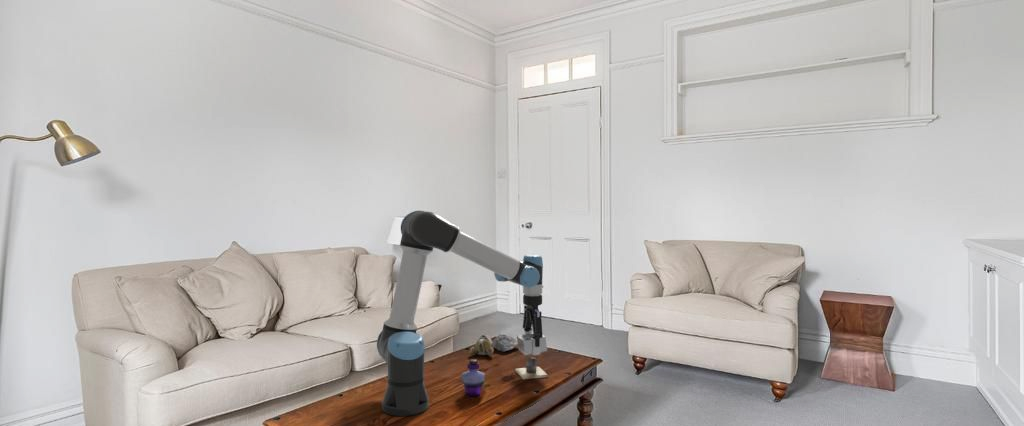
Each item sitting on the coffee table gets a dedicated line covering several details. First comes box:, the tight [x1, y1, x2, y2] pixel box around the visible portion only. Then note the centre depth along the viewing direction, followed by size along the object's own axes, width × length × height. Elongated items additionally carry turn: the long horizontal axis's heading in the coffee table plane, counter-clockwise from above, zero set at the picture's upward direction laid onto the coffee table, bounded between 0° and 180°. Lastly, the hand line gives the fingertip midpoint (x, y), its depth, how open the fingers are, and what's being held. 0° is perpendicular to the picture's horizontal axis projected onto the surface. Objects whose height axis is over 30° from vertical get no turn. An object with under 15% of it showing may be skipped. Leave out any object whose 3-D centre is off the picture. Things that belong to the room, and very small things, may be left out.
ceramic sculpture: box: [468, 333, 495, 357], centre depth 234 cm, size 11×9×15 cm
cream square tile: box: [515, 356, 549, 380], centre depth 208 cm, size 10×10×6 cm
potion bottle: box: [461, 358, 486, 398], centre depth 186 cm, size 9×9×12 cm
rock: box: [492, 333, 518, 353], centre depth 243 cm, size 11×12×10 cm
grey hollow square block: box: [516, 332, 548, 356], centre depth 208 cm, size 9×9×6 cm
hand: (532, 351), depth 208 cm, fingers closed on grey hollow square block, 9 cm apart
